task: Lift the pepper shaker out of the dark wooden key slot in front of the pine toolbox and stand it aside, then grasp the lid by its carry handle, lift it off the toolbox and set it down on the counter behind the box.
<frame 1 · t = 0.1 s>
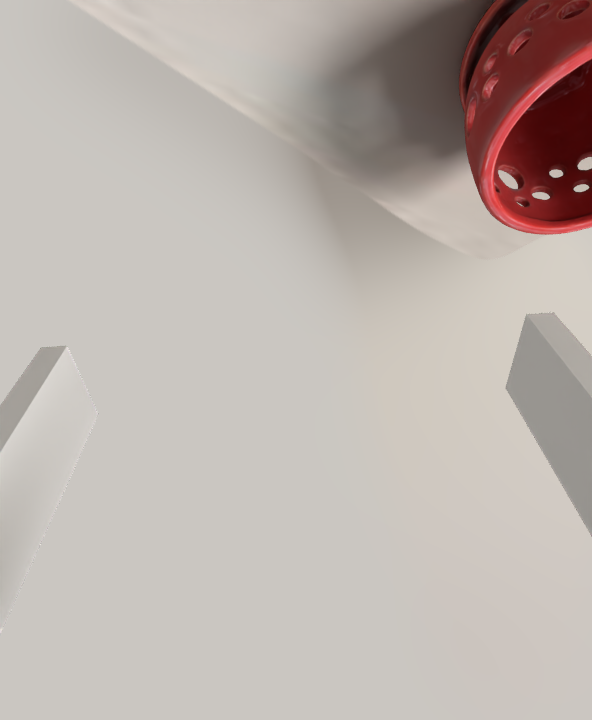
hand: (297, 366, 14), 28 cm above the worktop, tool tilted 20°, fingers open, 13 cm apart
plant pot: (532, 51, 33), on the worktop
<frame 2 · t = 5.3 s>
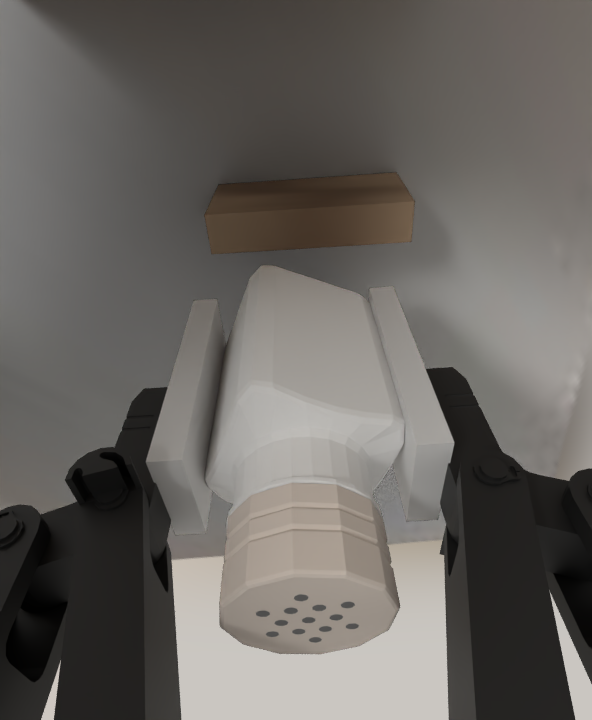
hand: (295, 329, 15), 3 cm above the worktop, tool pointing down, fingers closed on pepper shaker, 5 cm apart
pepper shaker: (295, 319, 16), point 3 cm above the worktop, touching gripper
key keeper: (312, 294, 18), on the worktop
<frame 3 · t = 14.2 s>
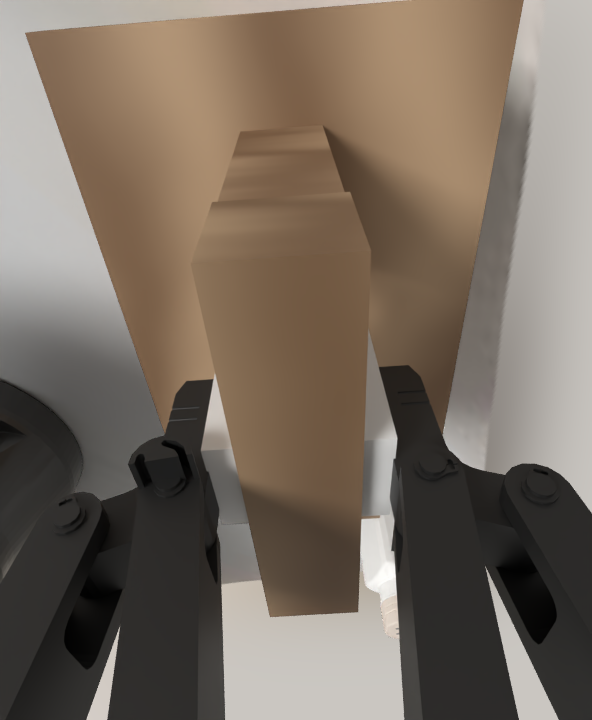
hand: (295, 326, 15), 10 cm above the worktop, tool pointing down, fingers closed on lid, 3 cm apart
pepper shaker: (383, 507, 39), on the worktop
lid: (293, 282, 18), point 7 cm above the worktop, touching gripper
when the fingers open (4 cm above the worktop, at t = 20.4 s): lid drops 2 cm, on the worktop.
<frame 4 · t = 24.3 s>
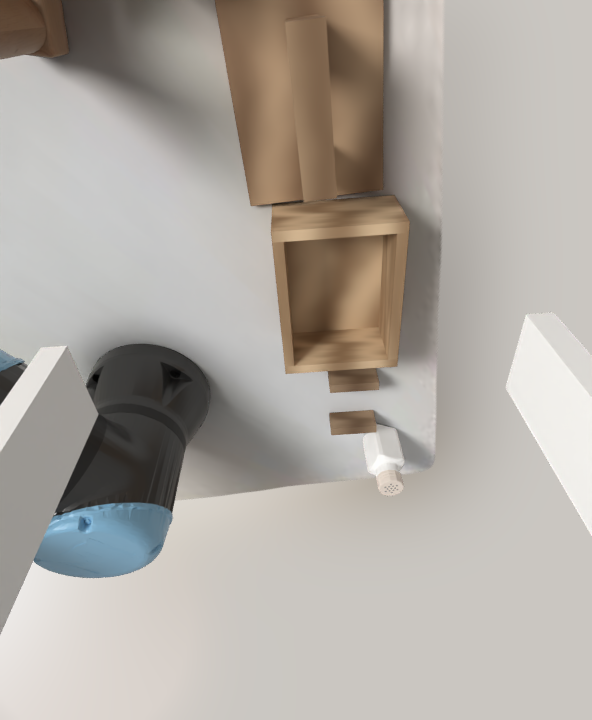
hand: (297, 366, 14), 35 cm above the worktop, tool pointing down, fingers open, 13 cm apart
pepper shaker: (378, 432, 66), on the worktop
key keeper: (351, 394, 61), on the worktop
lid: (307, 97, 40), on the worktop
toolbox: (334, 272, 50), on the worktop
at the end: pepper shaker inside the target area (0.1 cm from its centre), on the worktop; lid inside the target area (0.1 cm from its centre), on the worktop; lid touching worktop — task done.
